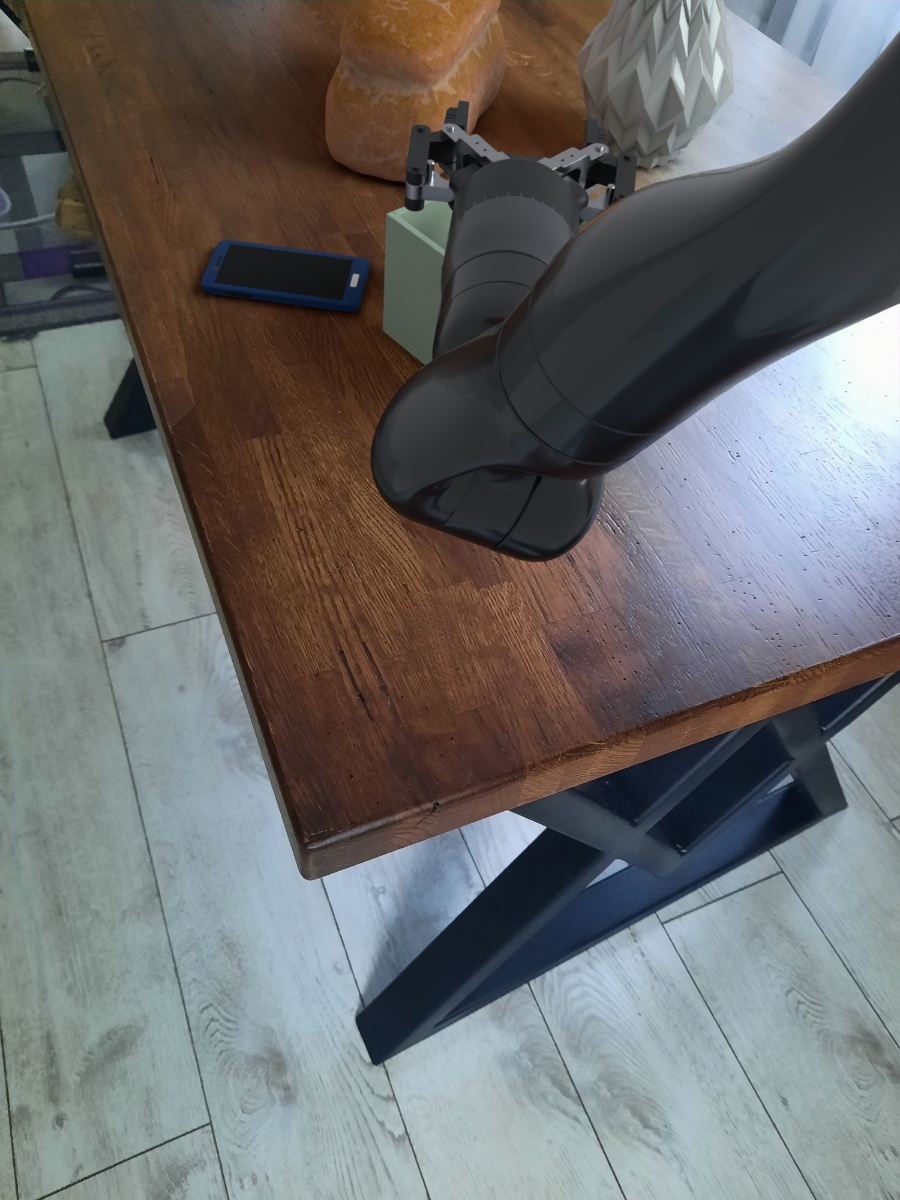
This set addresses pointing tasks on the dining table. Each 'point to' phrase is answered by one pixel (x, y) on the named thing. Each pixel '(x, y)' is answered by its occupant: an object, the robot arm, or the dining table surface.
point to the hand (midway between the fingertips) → (525, 123)
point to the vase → (656, 74)
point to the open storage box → (415, 275)
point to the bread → (409, 76)
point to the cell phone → (286, 275)
